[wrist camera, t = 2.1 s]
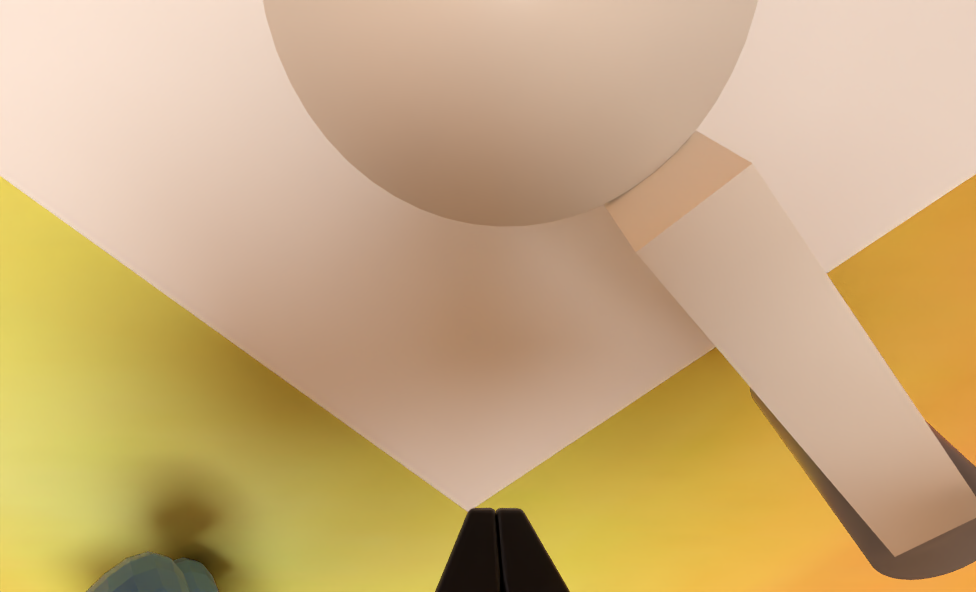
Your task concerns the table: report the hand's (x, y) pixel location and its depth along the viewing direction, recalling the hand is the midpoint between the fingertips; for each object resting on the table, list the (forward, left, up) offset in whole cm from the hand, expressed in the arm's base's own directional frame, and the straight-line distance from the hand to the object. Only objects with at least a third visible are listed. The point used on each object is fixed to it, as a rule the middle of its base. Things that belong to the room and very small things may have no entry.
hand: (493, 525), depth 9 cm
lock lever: (-5, -1, -5) cm, 7 cm away
